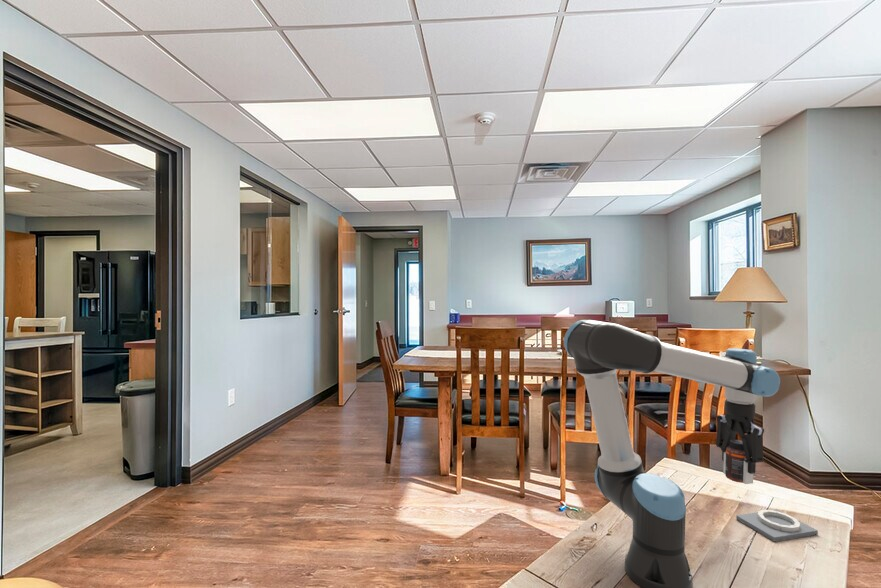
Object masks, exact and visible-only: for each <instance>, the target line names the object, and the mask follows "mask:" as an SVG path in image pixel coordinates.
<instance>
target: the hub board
mask: <svg viewBox="0 0 881 588" xmlns="http://www.w3.org/2000/svg"><path fill="white" fill-rule="evenodd" d="M735 518H736V520H737V521H739V522H740V523H743V524H744V525H746V526H747V527H749V528H750V529H752V530H754V531H756V532H758V533H759V534H761V535H762V536H764V537H766V538H768V539H769V540H771V541H772V542H774V543H775V542H781V541H786V540H793V539H798V538H805V537H810V536H816V535H815V534H818V535H819V531H818V529H815V528H813V527H812V526H811V525H810V526H809V525H808V524H806V523H804V522H802V521H800V520H798V519H797V518H795V517H793V516H792V515H789V514H787V513H785V512H783V511H782V510H779V509H761V510H758V512H757V511H756V512H750V513H743V514H737V515H736V517H735Z"/></svg>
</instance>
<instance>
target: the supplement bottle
mask: <svg viewBox="0 0 881 588" xmlns="http://www.w3.org/2000/svg"><path fill="white" fill-rule="evenodd" d="M744 460H746V456H745V451H744V447H743V443H742V440H739V439H734V440H730V446H728V447H727V448H726V466H725V474H724V475H725V477H726V478H727V479H728V480H731V481H732V482H734V483H735V482H736V483H741V484H744V483H743V469H744Z"/></svg>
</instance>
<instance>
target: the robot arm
mask: <svg viewBox="0 0 881 588" xmlns="http://www.w3.org/2000/svg"><path fill="white" fill-rule="evenodd" d="M563 345H564V349H565V351H566V353H568V356H569V357H571V358H573V360H574V365H575V369H576V370H575V371H576V372H577V373H578V374H579V375H581V376H582V377H583V379H584V384H585V388H586V391H587V396H588V400H589V404H590V405H589V406H590V409H591V414H592V419H593V422H594V427H595V432H596V436H597V441H598V445H599V449H600V453H601V454H600V455H599V457H598V459H597V465H596V466H597V468H595V470H594V481H595V485H596V486H597V489H598V490H599V491H600V493H601V494H602V495H603V496H604V498H606V499H607V500H608V501H610V502H611V503H612V504H613V505H615V506H616V507H617V508H618V509H619V510H621V511H622V512H623V513H624V514H625V515H626V516H627V517H629V518H630V519H631V520H632V538H631V542H630V545H629V549H628V551H627V552H626V554H625V558H624V569H625V572H626V575H627V576H628V577H629V579H631V580H632V582H634V583H635V584H636V585H638V586H639V587H641V588H693V573H692V570H691V567H690V565H689V564H690V563H689V562H688V558H687V555H686V551H685V547H686V546H685V544H686V543H685V540H686V511H687V506H686V498H685V494H684V492H683V490H682V488H681V487H680V486H679V484H677V483H676V482H674V481H673V480H671V479H670V478H668V477H665V476H660V475H659V474H655V473H650V472H649V473H648V472H646V473H645V472H644V467H643V462H642V458H641V456H640V455H639V454H638V453H636V452H634V448H633V444H632V440H631V439H632V438H631V435H630V430H629V425H628V422H627V417H626V412H625V408H624V403H623V399H622V394H621V389H620V385H619V381H618V376H617V371H618V370H619V371H620V370H621V371H628V372H629V371H630V372H637V373H642V374H652V373H654V372H656V373H660V374H665V375H669V376H673V377H679V378H682V379H687V380H690V381H691V380H692V381H694V382H696V383H702V384H709V385H710V384H711V385H715V386H719V387H723V388H724V398H725V400H724V405H723V406H724V409H723V410H724V412H725V414H720V415H719V414H717V415H716V421H717V430H716V439H715V440H716V441H715V445H716V447H717V448H719V449H721V460H722V462H723V472H722V473H723V474H724V475H725V466H726V448H727V447H728V446H730V440H736V436H737V434H739V437H740V439H741V441H742V443H743V447H744V451H745V456H746V460H744V469H743V483H742V484H744V485H748V484H749V485H751V484H754V474H756V465H757V464H758V463H763V462H764V445H763V442H764V441H763V436H764V433H765V429H764V428H763V427H759V426H757V425H756V424H755V421H754V418H755V416H756V404H755V402H756V396H761V397H766V398H768V397H773V396H774V395H775V394H776V393H778V391H779V389H780V384H781V378H780V375H779V373H778V372H777V371H776V370H775V369H773V368H771V367H766V366H765V365H758V363H757V362H758V361H757V353H756V352H755V351H754V350H751V349H746V348H736V347H733V348H727V349H726V351H725V354H724V355H722V356H720V355H717V354H716V355H715V354H712V353H709V352H708V353H707V352H704V351H700V350H695V349H691V348H687V347H683V346H678V345H675V344H671V343H667V342H663V341H660V339H659V337H656V336H654V335H651V334H648V333H643V332H640V331H638V330H635V329H632V328H630V327H627V326H624V325H621V324H618V323H613V322H606V321H600V320H595V319H581V320H578V321H576V322H574V323H572V324H571V325H570V326H569V327H568V328H567V331H566V332H565V334H564V338H563Z"/></svg>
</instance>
